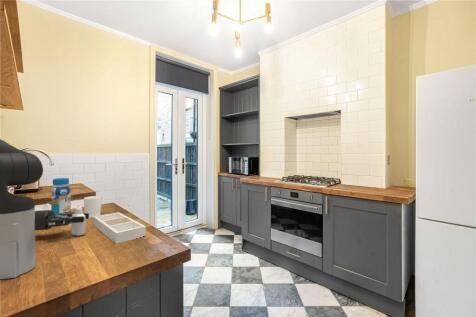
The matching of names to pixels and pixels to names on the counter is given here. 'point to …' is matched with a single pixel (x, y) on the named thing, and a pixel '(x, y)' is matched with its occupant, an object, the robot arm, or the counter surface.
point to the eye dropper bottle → (79, 227)
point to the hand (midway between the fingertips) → (86, 217)
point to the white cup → (92, 205)
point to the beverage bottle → (61, 196)
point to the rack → (119, 227)
